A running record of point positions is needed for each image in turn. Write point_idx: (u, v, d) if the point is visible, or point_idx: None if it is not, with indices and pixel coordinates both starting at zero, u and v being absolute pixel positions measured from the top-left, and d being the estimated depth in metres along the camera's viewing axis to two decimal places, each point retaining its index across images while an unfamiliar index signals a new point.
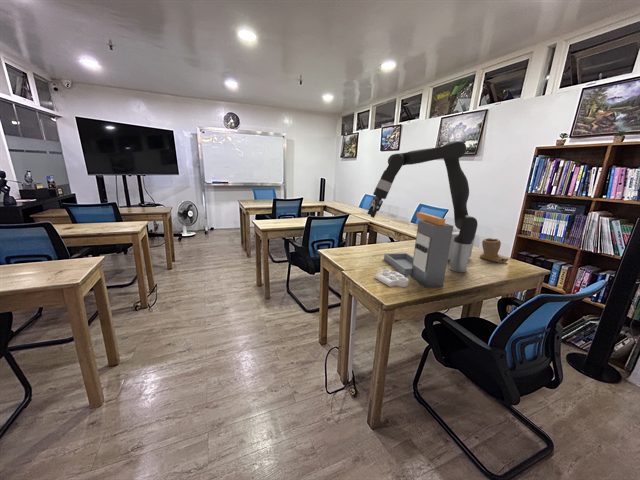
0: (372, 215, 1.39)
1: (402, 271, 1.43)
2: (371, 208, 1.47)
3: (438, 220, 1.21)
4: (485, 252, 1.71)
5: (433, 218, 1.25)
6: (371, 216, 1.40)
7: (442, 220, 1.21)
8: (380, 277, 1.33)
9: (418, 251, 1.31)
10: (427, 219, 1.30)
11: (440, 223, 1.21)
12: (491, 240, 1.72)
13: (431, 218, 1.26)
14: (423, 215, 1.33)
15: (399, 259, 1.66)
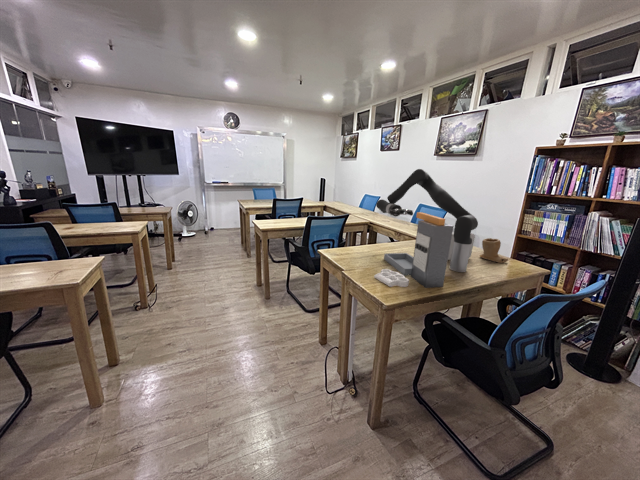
0: (396, 214, 1.52)
1: (402, 271, 1.43)
2: (408, 213, 1.56)
3: (438, 220, 1.21)
4: (485, 252, 1.71)
5: (433, 218, 1.25)
6: (398, 214, 1.51)
7: (442, 220, 1.21)
8: (380, 277, 1.33)
9: (418, 251, 1.31)
10: (427, 219, 1.30)
11: (440, 223, 1.21)
12: (491, 240, 1.72)
13: (431, 218, 1.26)
14: (423, 215, 1.33)
15: (399, 259, 1.66)
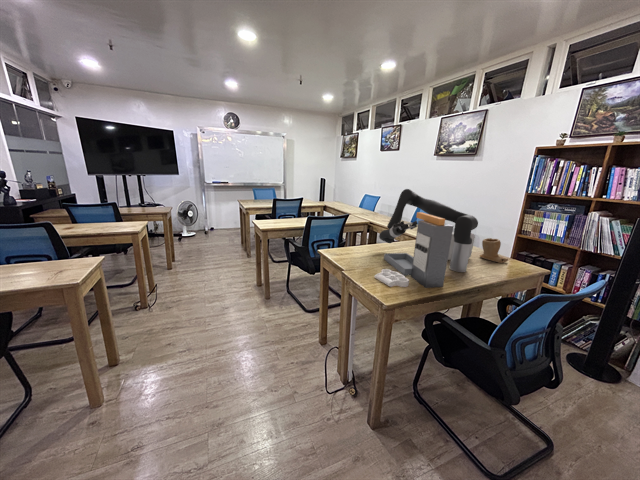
0: (401, 223, 1.49)
1: (402, 271, 1.43)
2: (412, 224, 1.53)
3: (438, 220, 1.21)
4: (485, 252, 1.71)
5: (433, 218, 1.25)
6: (402, 223, 1.48)
7: (442, 220, 1.21)
8: (380, 277, 1.33)
9: (418, 251, 1.31)
10: (427, 219, 1.30)
11: (440, 223, 1.21)
12: (491, 240, 1.72)
13: (431, 218, 1.26)
14: (423, 215, 1.33)
15: (399, 259, 1.66)
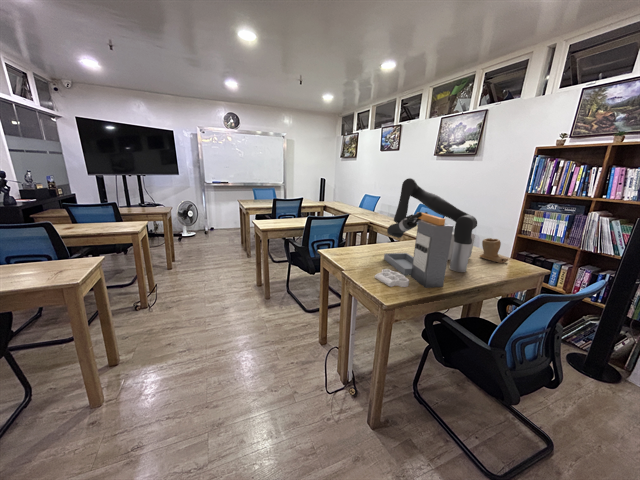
0: (418, 215, 1.35)
1: (402, 271, 1.43)
2: None
3: (438, 220, 1.21)
4: (485, 252, 1.71)
5: (433, 218, 1.25)
6: (420, 214, 1.35)
7: (442, 220, 1.21)
8: (380, 277, 1.33)
9: (418, 251, 1.31)
10: (427, 219, 1.30)
11: (440, 223, 1.21)
12: (491, 240, 1.72)
13: (431, 218, 1.26)
14: (423, 215, 1.33)
15: (399, 259, 1.66)
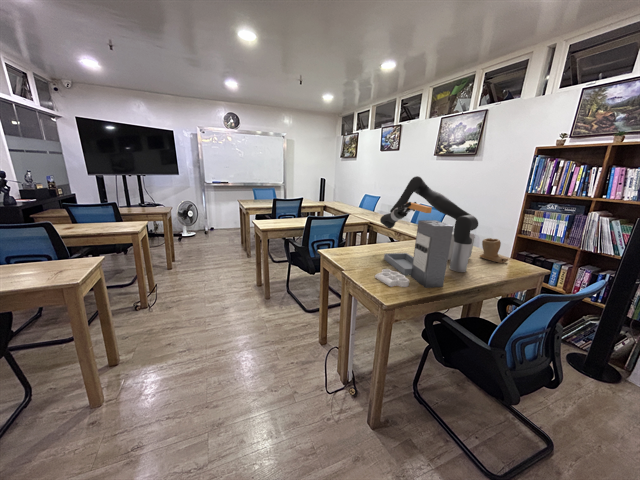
0: (408, 204, 1.45)
1: (402, 271, 1.43)
2: None
3: (425, 208, 1.31)
4: (485, 252, 1.71)
5: (421, 207, 1.35)
6: (409, 204, 1.45)
7: (429, 209, 1.31)
8: (381, 277, 1.33)
9: (418, 251, 1.31)
10: (416, 208, 1.40)
11: (427, 211, 1.31)
12: (491, 240, 1.72)
13: (419, 207, 1.37)
14: (412, 204, 1.43)
15: (399, 259, 1.66)
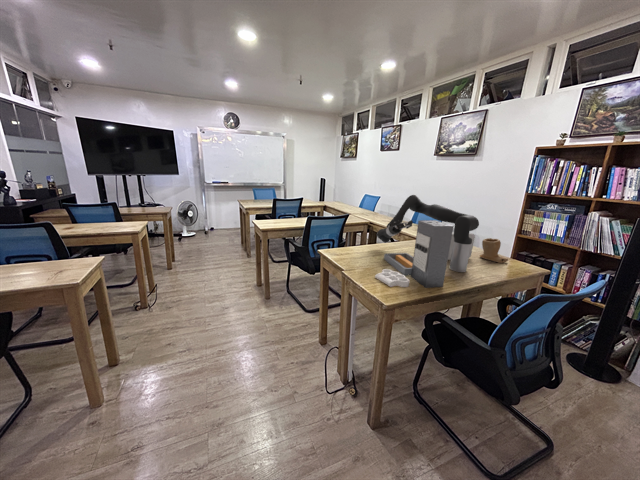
0: (396, 223, 1.54)
1: (402, 271, 1.43)
2: (408, 223, 1.58)
3: (410, 267, 1.47)
4: (485, 252, 1.71)
5: (407, 264, 1.51)
6: (398, 222, 1.53)
7: None
8: (381, 277, 1.33)
9: (418, 251, 1.31)
10: (403, 263, 1.56)
11: None
12: (491, 240, 1.72)
13: (406, 263, 1.52)
14: (400, 259, 1.59)
15: None
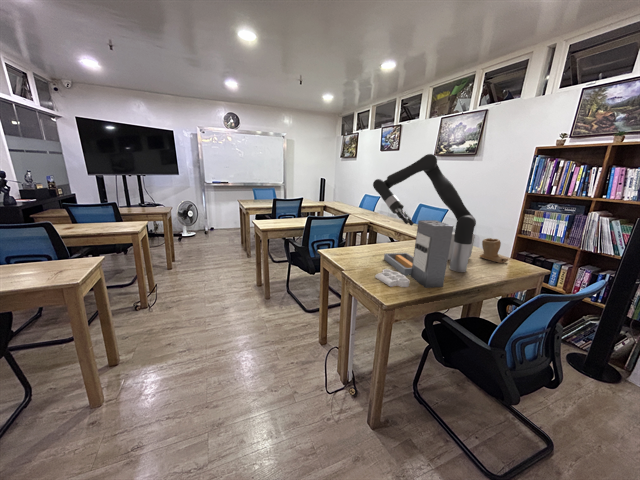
0: (405, 222, 1.45)
1: (402, 271, 1.43)
2: (408, 220, 1.54)
3: (410, 267, 1.47)
4: (485, 252, 1.71)
5: (407, 264, 1.51)
6: (406, 223, 1.46)
7: None
8: (381, 277, 1.33)
9: (418, 251, 1.31)
10: (403, 263, 1.56)
11: None
12: (491, 240, 1.72)
13: (406, 263, 1.52)
14: (400, 259, 1.59)
15: None
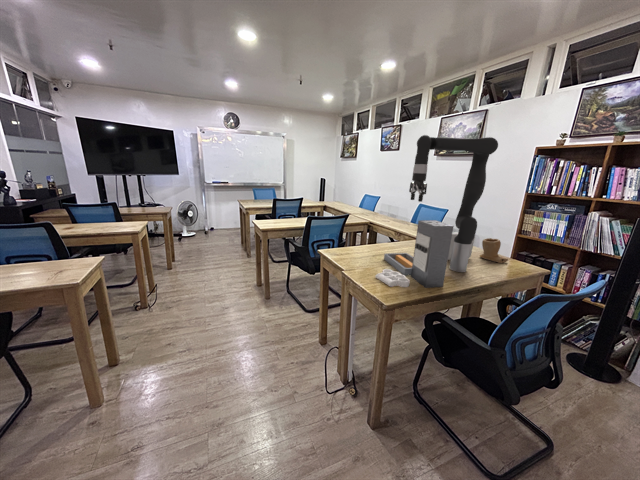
0: (420, 199, 1.44)
1: (402, 271, 1.43)
2: (413, 193, 1.53)
3: (410, 267, 1.47)
4: (485, 252, 1.71)
5: (407, 264, 1.51)
6: (419, 201, 1.45)
7: None
8: (381, 277, 1.33)
9: (418, 251, 1.31)
10: (403, 263, 1.56)
11: None
12: (491, 240, 1.72)
13: (406, 263, 1.52)
14: (400, 259, 1.59)
15: None
